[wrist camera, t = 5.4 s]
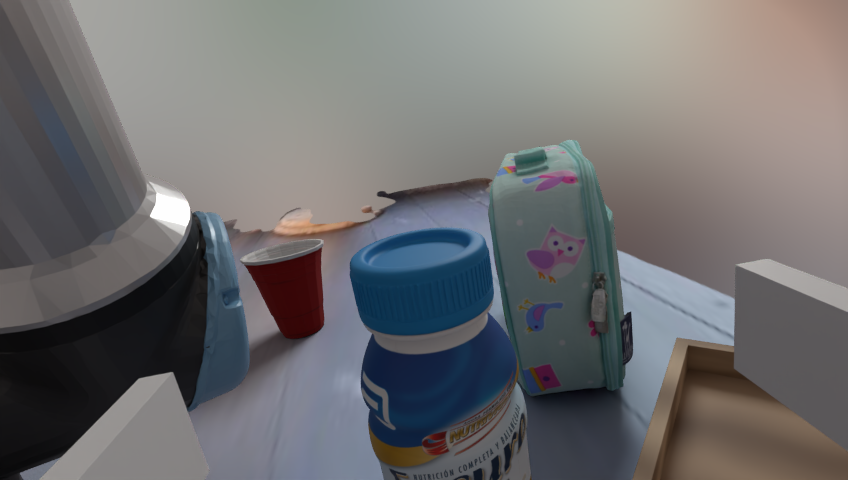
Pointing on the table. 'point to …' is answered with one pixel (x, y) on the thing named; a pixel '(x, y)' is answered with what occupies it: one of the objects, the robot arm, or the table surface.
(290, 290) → the plastic cup
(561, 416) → the table surface
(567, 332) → the lunch box
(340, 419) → the table surface
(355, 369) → the table surface
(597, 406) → the table surface
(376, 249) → the beverage bottle
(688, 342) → the wooden square tray
